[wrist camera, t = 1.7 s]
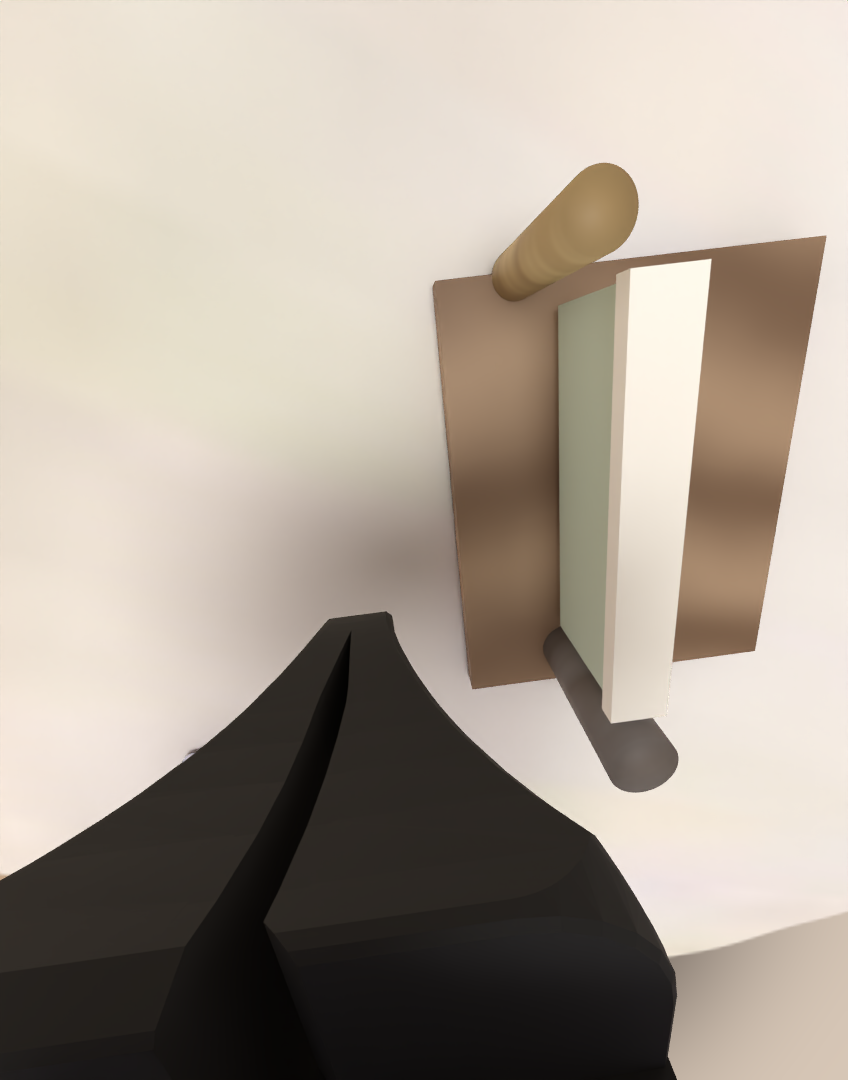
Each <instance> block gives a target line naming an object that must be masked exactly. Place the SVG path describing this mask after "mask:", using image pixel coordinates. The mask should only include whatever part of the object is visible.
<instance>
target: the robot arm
mask: <svg viewBox="0 0 848 1080" xmlns="http://www.w3.org/2000/svg"><path fill="white" fill-rule="evenodd" d="M676 998H677V991H676V977H675V971H674V969H673V967H672V965H671V963H670V961H669V959H668V956H667V954H666V952H665V949H664V947H663V945H662V943H661V941H660V939H659V937H658V935H657V933H656V931H655V929H654V927H653V925H652V924H651V922H650V920H649V918H648V917H647V915H646V913H645V912H644V910H643V908H642V906H641V905H640V903H639V901H638V900H637V898H636V896H635V895H634V893H633V891H632V890H631V888H630V887H629V885H628V883H627V882H626V880H625V879H624V877H623V875H622V874H621V872H620V871H619V869H618V868H617V866H616V865H615V864H614V862H613V861H612V859H611V858H610V856H609V855H608V853H607V852H606V850H605V849H604V847H603V846H602V845H601V843H600V842H599V840H598V839H597V838H596V836H595V835H593V834H592V833H590V832H589V831H587V830H586V829H584V828H583V827H581V826H580V825H578V824H577V823H575V822H574V821H572V820H571V819H569V818H568V817H566V816H565V815H563V814H562V813H560V812H559V811H557V810H556V809H555V808H553V807H552V806H550V805H549V804H548V803H546V802H545V801H544V800H542V799H541V798H539V797H538V796H537V795H535V794H534V793H533V792H531V791H530V790H529V789H528V788H526V787H525V786H524V785H523V784H521V783H520V782H519V781H518V780H516V779H515V778H514V777H512V776H511V775H510V774H509V773H507V772H506V771H505V770H504V769H503V768H502V767H501V766H499V765H498V764H497V763H496V762H495V761H494V760H493V759H492V758H491V757H490V756H488V755H487V754H486V753H485V752H484V751H483V750H482V749H481V748H480V747H478V746H477V745H476V744H475V743H474V742H473V741H472V740H471V739H470V738H469V737H468V736H467V735H466V734H465V733H464V732H463V731H462V730H461V729H460V728H459V727H458V726H457V725H456V724H455V723H454V721H453V720H452V719H451V718H450V717H449V716H448V715H447V714H446V712H445V711H444V710H443V709H442V708H441V707H440V705H439V704H438V703H437V702H436V700H435V699H434V698H433V697H432V695H431V694H430V693H429V691H428V690H427V688H426V687H425V686H424V684H423V683H422V681H421V680H420V678H419V677H418V676H417V674H416V672H415V671H414V669H413V668H412V666H411V664H410V662H409V661H408V659H407V657H406V655H405V653H404V652H403V650H402V648H401V646H400V644H399V642H398V639H397V637H396V634H395V632H394V625H393V619H392V615H390V614H389V613H387V612H379V613H371V614H364V615H356V616H348V617H341V618H333V619H329V620H328V621H327V622H326V623H325V624H324V625H323V627H322V628H321V629H320V630H319V631H318V632H317V634H316V635H315V636H314V637H313V638H312V640H311V641H310V642H309V643H308V644H307V645H306V647H305V648H304V649H303V650H302V651H301V652H300V653H299V655H298V656H297V657H296V658H295V659H294V660H293V661H292V662H291V664H290V665H289V666H288V667H287V668H286V669H285V670H284V671H283V672H282V674H281V675H280V676H279V677H278V678H277V679H276V680H275V681H274V682H273V683H272V684H271V685H270V686H269V687H268V688H267V689H266V690H265V691H264V692H263V693H262V694H261V695H260V696H259V697H258V698H257V699H256V700H255V701H254V702H253V703H252V704H251V705H250V706H249V707H248V708H247V709H246V710H245V711H244V712H242V713H241V714H240V715H239V716H238V717H237V718H236V719H235V720H234V721H233V722H231V723H230V724H229V725H228V726H227V727H226V728H225V729H223V730H222V731H221V732H220V733H219V734H217V735H216V736H215V737H214V738H213V739H211V740H210V741H209V742H208V743H207V744H206V745H204V746H203V747H202V748H201V749H199V750H198V751H197V752H196V753H191V754H188V755H187V756H185V758H184V759H183V761H182V763H181V764H180V765H178V766H177V767H176V768H174V769H173V770H171V771H170V772H169V773H167V774H166V775H165V776H163V777H162V778H161V779H159V780H158V781H157V782H155V783H154V784H152V785H151V786H150V787H148V788H147V789H146V790H144V791H143V792H142V793H140V794H139V795H137V796H136V797H134V798H133V799H132V800H130V801H129V802H127V803H126V804H124V805H123V806H121V807H120V808H118V809H117V810H115V811H114V812H112V813H111V814H109V815H108V816H106V817H105V818H103V819H102V820H100V821H99V822H97V823H95V824H94V825H92V826H91V827H89V828H87V829H86V830H84V831H83V832H81V833H79V834H78V835H76V836H75V837H73V838H71V839H70V840H68V841H67V842H65V843H64V844H62V845H60V846H59V847H57V848H55V849H54V850H52V851H50V852H49V853H47V854H45V855H44V856H42V857H40V858H39V859H37V860H35V861H34V862H32V863H30V864H29V865H27V866H25V867H23V868H22V869H20V870H18V871H16V872H15V873H13V874H11V875H9V876H7V877H6V878H4V879H2V880H0V1080H677V1079H676V1076H675V1074H674V1071H673V1068H672V1066H671V1063H670V1061H669V1058H668V1051H669V1043H670V1038H671V1031H672V1024H673V1018H674V1011H675V1005H676Z"/></svg>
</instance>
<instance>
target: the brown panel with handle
mask: <svg viewBox="0 0 848 1080" xmlns="http://www.w3.org/2000/svg"><path fill="white" fill-rule="evenodd" d="M637 215H638V194H637V190H636V187H635V184H634V182H633V180H632V178H631V177H630V176H629V174H628V173H627V172H626V171H625V170H623V169H622V168H621V167H619V166H617V165H614V164H610V163H599V164H595V165H592V166H589V167H588V168H586V169H584V170H583V171H581V172H580V173H579V174H578V175H577V176H576V177H575V178H574V179H573V180H572V181H571V182H570V183H569V184H568V185H567V186H566V187H565V188H564V190H563V191H562V192H561V193H560V194H559V195H558V196H557V197H556V198H555V199H554V200H553V201H552V202H551V203H550V204H549V205H548V206H547V207H546V208H545V209H544V210H543V211H542V213H541V214H540V215H539V216H538V217H537V218H536V219H535V220H534V221H533V222H532V223H531V224H530V225H529V226H528V227H527V228H526V229H525V230H524V231H523V232H522V233H521V234H520V235H519V237H518V238H517V239H516V240H515V241H514V242H513V243H512V244H511V245H510V246H509V247H508V248H507V249H506V250H505V251H504V252H503V253H502V254H501V255H500V256H499V258H498V259H497V260H496V262H495V264H494V267H493V271H492V274H491V275H483V276H474V277H465V278H457V279H448V280H440V281H435V283H434V285H433V296H434V307H435V317H436V328H437V339H438V349H439V360H440V371H441V382H442V392H443V403H444V414H445V425H446V435H447V446H448V457H449V467H450V478H451V489H452V500H453V510H454V521H455V532H456V543H457V553H458V564H459V575H460V586H461V596H462V607H463V618H464V628H465V639H466V650H467V661H468V671H469V677H470V681H471V685H472V689H478V688H485V687H493V686H500V685H507V684H515V683H522V682H529V681H537V680H544V679H551V678H557V680H558V682H559V684H560V686H561V688H562V689H563V691H564V693H565V695H566V697H567V699H568V701H569V703H570V704H571V706H572V708H573V710H574V712H575V714H576V716H577V718H578V720H579V721H580V723H581V725H582V727H583V729H584V731H585V733H586V735H587V736H588V738H589V740H590V742H591V744H592V746H593V748H594V750H595V751H596V753H597V755H598V757H599V759H600V761H601V763H602V765H603V767H604V768H605V770H606V772H607V774H608V776H609V778H610V780H611V781H612V783H613V784H614V785H615V786H616V787H617V788H619V789H621V790H623V791H627V792H644V791H648V790H652V789H654V788H656V787H658V786H660V785H662V784H663V783H664V782H666V781H667V780H668V779H669V778H670V777H671V776H672V775H673V773H674V772H675V770H676V768H677V765H678V753H677V751H676V749H675V748H674V746H673V745H672V743H671V742H670V741H669V739H668V738H667V737H666V735H665V734H664V733H663V731H662V730H661V729H660V727H659V726H658V725H657V723H656V722H655V721H654V719H653V718H648V719H641V720H633V721H626V722H619V723H612V724H611V723H610V721H609V719H608V718H607V716H606V715H605V713H604V711H603V710H602V689H601V687H600V685H599V684H598V682H597V681H596V679H595V678H594V676H593V675H592V673H591V672H590V670H589V669H588V667H587V666H586V664H585V663H584V661H583V660H582V658H581V656H580V655H579V653H578V652H577V650H576V649H575V647H574V646H573V644H572V643H571V641H570V640H569V638H568V637H567V635H566V634H565V632H564V631H563V629H562V627H561V626H560V518H559V367H558V305H561V304H564V303H566V302H569V301H572V300H574V299H577V298H580V297H582V296H585V295H587V294H590V293H593V292H595V291H598V290H601V289H603V288H606V287H609V286H611V285H614V284H616V274H618V273H621V272H623V271H625V270H628V269H630V268H638V267H646V266H655V265H664V264H672V263H681V262H689V261H698V260H706V259H711V270H710V280H709V290H708V300H707V311H706V321H705V331H704V341H703V352H702V362H701V372H700V382H699V393H698V403H697V413H696V423H695V434H694V444H693V454H692V464H691V475H690V485H689V495H688V505H687V516H686V526H685V536H684V546H683V557H682V567H681V577H680V587H679V598H678V608H677V618H676V628H675V639H674V649H673V659H672V662H676V661H684V660H691V659H699V658H706V657H713V656H721V655H728V654H735V653H743V652H750V651H755V647H756V641H757V635H758V629H759V624H760V618H761V612H762V606H763V600H764V595H765V589H766V583H767V577H768V572H769V566H770V560H771V554H772V548H773V543H774V537H775V531H776V525H777V519H778V514H779V508H780V502H781V496H782V490H783V485H784V479H785V473H786V467H787V462H788V456H789V450H790V444H791V438H792V433H793V427H794V421H795V415H796V409H797V404H798V398H799V392H800V386H801V380H802V375H803V369H804V363H805V357H806V352H807V346H808V340H809V334H810V328H811V323H812V317H813V311H814V305H815V299H816V294H817V288H818V282H819V276H820V270H821V265H822V259H823V253H824V247H825V242H826V236H818V237H809V238H801V239H792V240H784V241H775V242H766V243H758V244H749V245H741V246H732V247H723V248H715V249H706V250H698V251H689V252H680V253H672V254H663V255H655V256H646V257H637V258H629V259H620V260H612V261H603V262H594V261H596V260H598V259H600V258H602V257H604V256H606V255H608V254H609V253H611V252H613V251H615V250H616V249H618V248H619V247H620V246H621V245H622V244H623V243H624V242H625V241H626V240H627V238H628V237H629V235H630V234H631V232H632V230H633V228H634V225H635V222H636V219H637ZM592 262H594V263H592Z"/></svg>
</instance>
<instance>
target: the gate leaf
mask: <svg viewBox="0 0 848 1080" xmlns="http://www.w3.org/2000/svg"><path fill="white" fill-rule="evenodd" d="M710 270H711V259H706V260H698V261H689V262H681V263H672V264H664V265H655V266H646V267H638V268H630V269H628V270H625V271H623V272H621V273H618V274H616V284H614V285H611V286H609V287H606V288H603V289H601V290H598V291H595V292H593V293H590V294H587V295H585V296H582V297H580V298H577V299H574V300H572V301H569V302H566V303H564V304H561V305H558V367H559V518H560V626H561V627H562V629H563V631H564V632H565V634H566V635H567V637H568V638H569V640H570V641H571V643H572V644H573V646H574V647H575V649H576V650H577V652H578V653H579V655H580V656H581V658H582V660H583V661H584V663H585V664H586V666H587V667H588V669H589V670H590V672H591V673H592V675H593V676H594V678H595V679H596V681H597V682H598V684H599V685H600V687H601V689H602V710H603V711H604V713H605V715H606V716H607V718H608V719H609V721H610V723H611V724H612V723H619V722H626V721H633V720H641V719H648V718H655V717H662V716H667V710H668V700H669V690H670V680H671V669H672V659H673V649H674V639H675V628H676V618H677V608H678V598H679V587H680V577H681V567H682V557H683V546H684V536H685V526H686V516H687V505H688V495H689V485H690V475H691V464H692V454H693V444H694V434H695V423H696V413H697V403H698V393H699V382H700V372H701V362H702V352H703V341H704V331H705V321H706V311H707V300H708V290H709V280H710Z"/></svg>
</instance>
